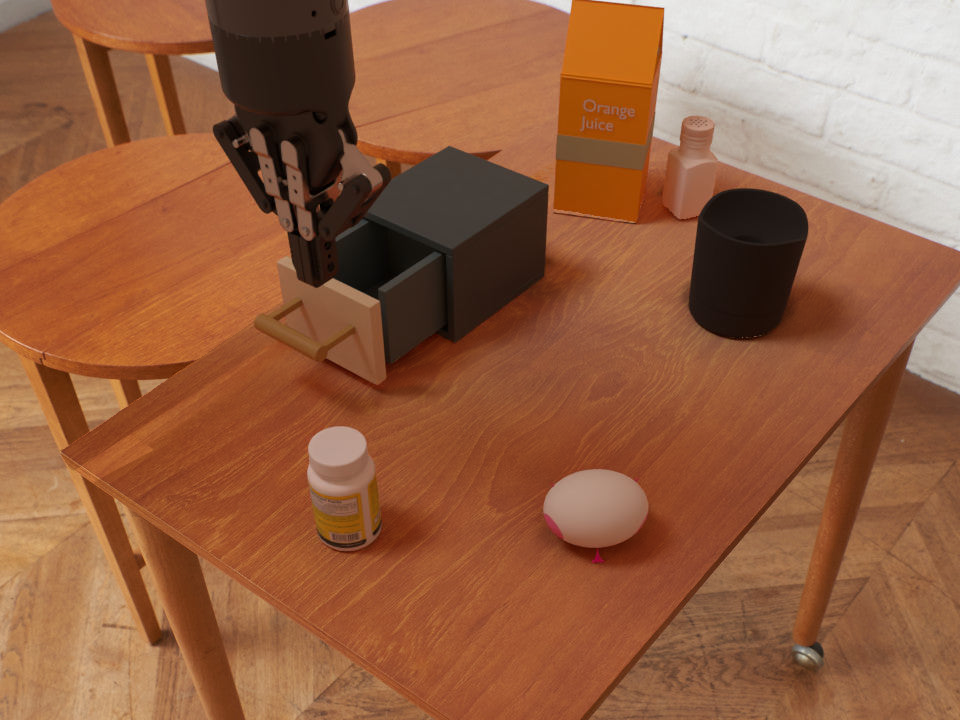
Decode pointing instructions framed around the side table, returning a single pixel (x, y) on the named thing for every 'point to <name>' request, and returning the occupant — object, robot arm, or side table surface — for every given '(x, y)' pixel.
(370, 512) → the supplement bottle
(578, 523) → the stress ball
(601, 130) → the orange juice
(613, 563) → the side table surface
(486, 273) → the cabinet
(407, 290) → the drawer
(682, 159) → the pepper shaker
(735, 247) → the pen holder
